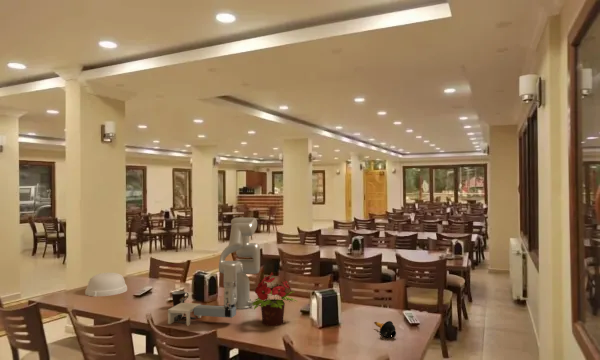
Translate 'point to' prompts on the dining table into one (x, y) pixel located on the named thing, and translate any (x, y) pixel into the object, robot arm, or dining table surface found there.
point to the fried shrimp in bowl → (386, 329)
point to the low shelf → (181, 313)
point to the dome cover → (106, 285)
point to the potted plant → (271, 302)
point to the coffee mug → (178, 297)
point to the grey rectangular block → (213, 311)
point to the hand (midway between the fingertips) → (230, 314)
